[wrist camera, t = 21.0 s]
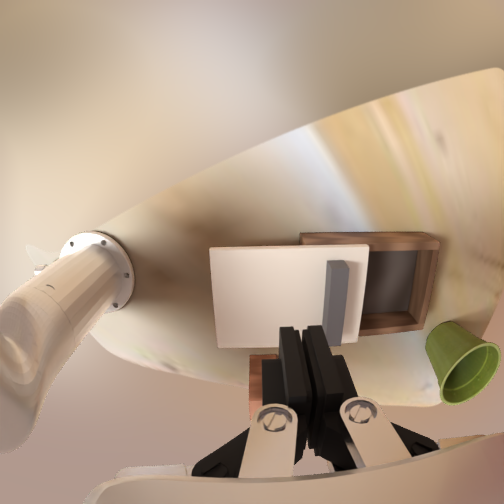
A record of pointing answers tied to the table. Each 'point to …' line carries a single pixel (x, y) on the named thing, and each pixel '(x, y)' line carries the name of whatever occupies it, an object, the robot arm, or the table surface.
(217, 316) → the toolbox lid
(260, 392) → the salmon orange block
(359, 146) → the table surface
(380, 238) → the toolbox
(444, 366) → the plant pot
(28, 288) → the robot arm
